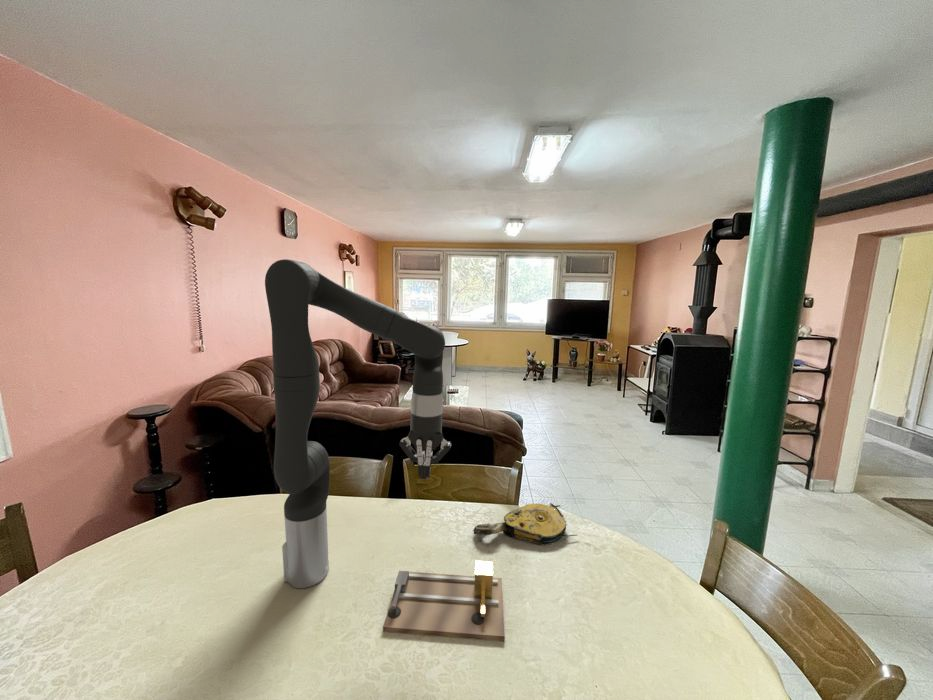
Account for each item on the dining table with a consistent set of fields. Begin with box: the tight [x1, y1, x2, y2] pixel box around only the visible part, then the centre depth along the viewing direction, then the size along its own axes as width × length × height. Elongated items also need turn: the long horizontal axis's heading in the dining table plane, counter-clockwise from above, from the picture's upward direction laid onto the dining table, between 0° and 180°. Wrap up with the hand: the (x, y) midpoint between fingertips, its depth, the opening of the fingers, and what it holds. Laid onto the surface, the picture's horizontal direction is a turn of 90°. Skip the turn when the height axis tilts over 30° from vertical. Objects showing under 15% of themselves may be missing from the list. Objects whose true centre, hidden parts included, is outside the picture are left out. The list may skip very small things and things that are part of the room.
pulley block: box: [472, 502, 578, 546], centre depth 106 cm, size 14×6×30 cm
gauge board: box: [382, 570, 506, 642], centre depth 81 cm, size 25×15×4 cm, turn 87°
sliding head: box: [474, 560, 494, 619], centre depth 80 cm, size 4×10×6 cm, turn 177°
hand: (424, 477), depth 88 cm, fingers closed
